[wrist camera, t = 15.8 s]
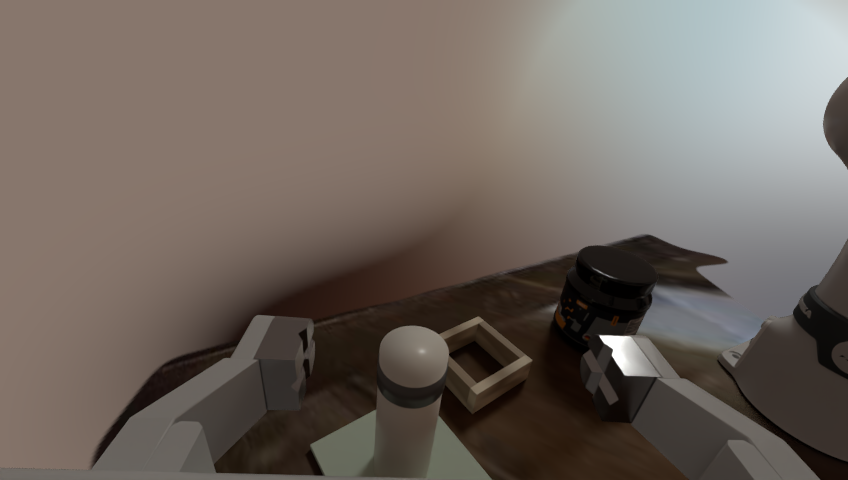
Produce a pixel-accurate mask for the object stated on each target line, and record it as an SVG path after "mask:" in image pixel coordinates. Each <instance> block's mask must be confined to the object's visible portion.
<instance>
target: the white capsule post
mask: <svg viewBox="0 0 848 480" xmlns="http://www.w3.org/2000/svg"><path fill="white" fill-rule="evenodd" d="M448 358H449V350H448V346H447V344H446V342H445V341H444V339H443V338H442V337H441V336H440V335H438V334H437V333H435V332H434V331H432V330H430V329H427V328H424V327H419V326H404V327H400V328H397V329H395V330H393V331H391V332H389V333H388V334H387V335H386V336H385V337H384V338H383V340H382V342H381V344H380V352H379V355H378V365H377V385H378V390H377V408H376V427H375V445H374V463H373V467H374V473H375V476H376V477H391V478H426V477H427V474H428V470H429V465H430V459H431V453H432V448H433V442H434V436H435V431H436V425H437V420H438V414H439V408H440V403H441V397H442V393H443V391H444V388H445V382H446V377H447V371H448V363H449V362H448Z"/></svg>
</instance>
